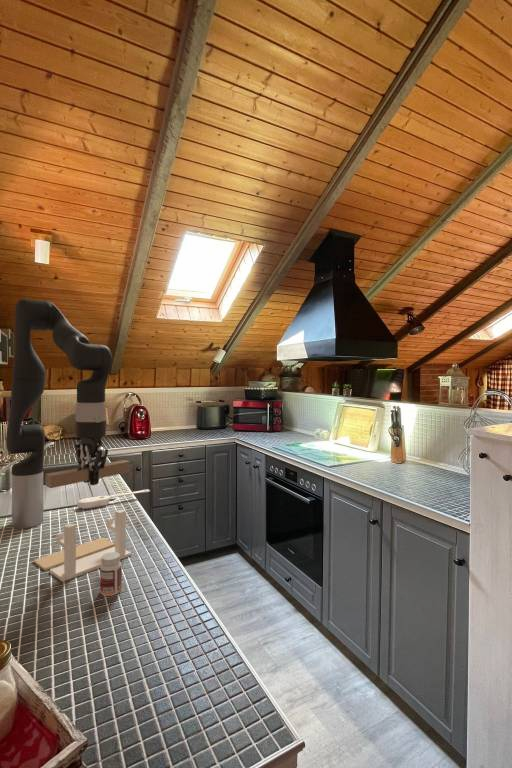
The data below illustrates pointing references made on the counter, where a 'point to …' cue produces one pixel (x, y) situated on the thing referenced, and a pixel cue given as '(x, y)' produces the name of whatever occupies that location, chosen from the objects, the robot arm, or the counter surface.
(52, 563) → the tray
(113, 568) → the pill bottle
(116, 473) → the rail
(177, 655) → the counter surface
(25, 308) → the robot arm
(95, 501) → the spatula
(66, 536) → the rack
